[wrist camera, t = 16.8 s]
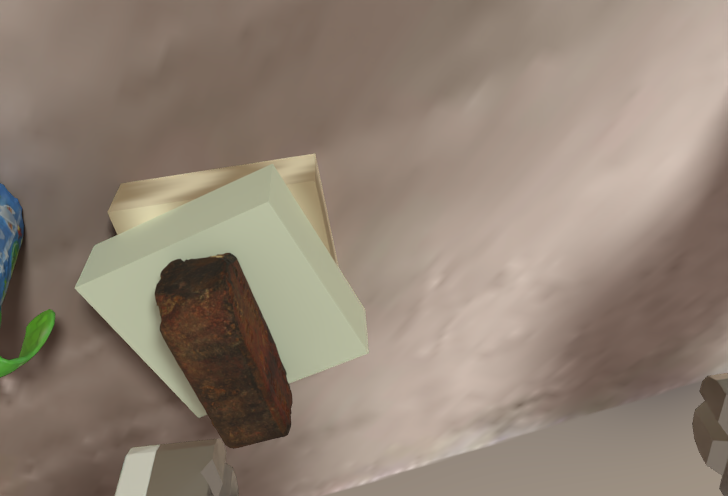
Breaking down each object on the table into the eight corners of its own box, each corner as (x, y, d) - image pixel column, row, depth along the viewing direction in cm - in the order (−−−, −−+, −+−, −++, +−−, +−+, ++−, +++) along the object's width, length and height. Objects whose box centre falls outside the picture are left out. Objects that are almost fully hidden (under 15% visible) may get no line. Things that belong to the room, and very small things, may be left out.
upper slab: (272, 163, 37) (268, 201, 34) (365, 309, 44) (368, 353, 41) (94, 245, 40) (74, 288, 37) (206, 372, 46) (198, 417, 43)
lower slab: (315, 147, 41) (315, 180, 38) (345, 296, 48) (347, 334, 45) (123, 177, 42) (107, 212, 39) (181, 320, 49) (171, 360, 46)
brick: (295, 377, 42) (293, 438, 38) (233, 391, 42) (226, 453, 38) (233, 240, 35) (224, 296, 32) (162, 258, 36) (144, 316, 32)
